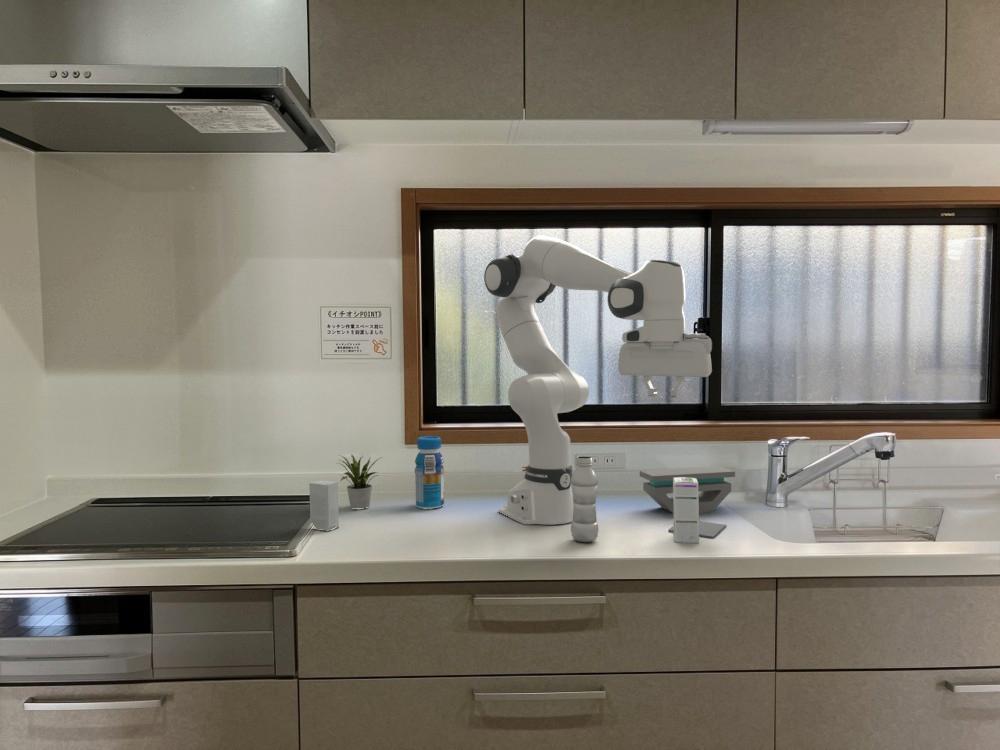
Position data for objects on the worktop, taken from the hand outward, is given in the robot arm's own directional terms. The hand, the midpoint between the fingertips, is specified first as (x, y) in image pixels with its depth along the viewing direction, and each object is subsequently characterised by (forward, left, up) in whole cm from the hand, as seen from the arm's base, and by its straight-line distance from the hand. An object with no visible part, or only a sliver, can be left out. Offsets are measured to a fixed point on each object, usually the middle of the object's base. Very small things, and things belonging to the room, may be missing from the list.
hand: (663, 396), depth 147 cm
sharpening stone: (-19, +37, -35) cm, 55 cm away
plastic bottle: (-18, -6, -35) cm, 40 cm away
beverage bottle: (-70, -15, -35) cm, 80 cm away
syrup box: (-3, +13, -35) cm, 38 cm away
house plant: (-83, -32, -35) cm, 96 cm away
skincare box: (-69, -48, -35) cm, 91 cm away
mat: (-6, +22, -35) cm, 42 cm away
